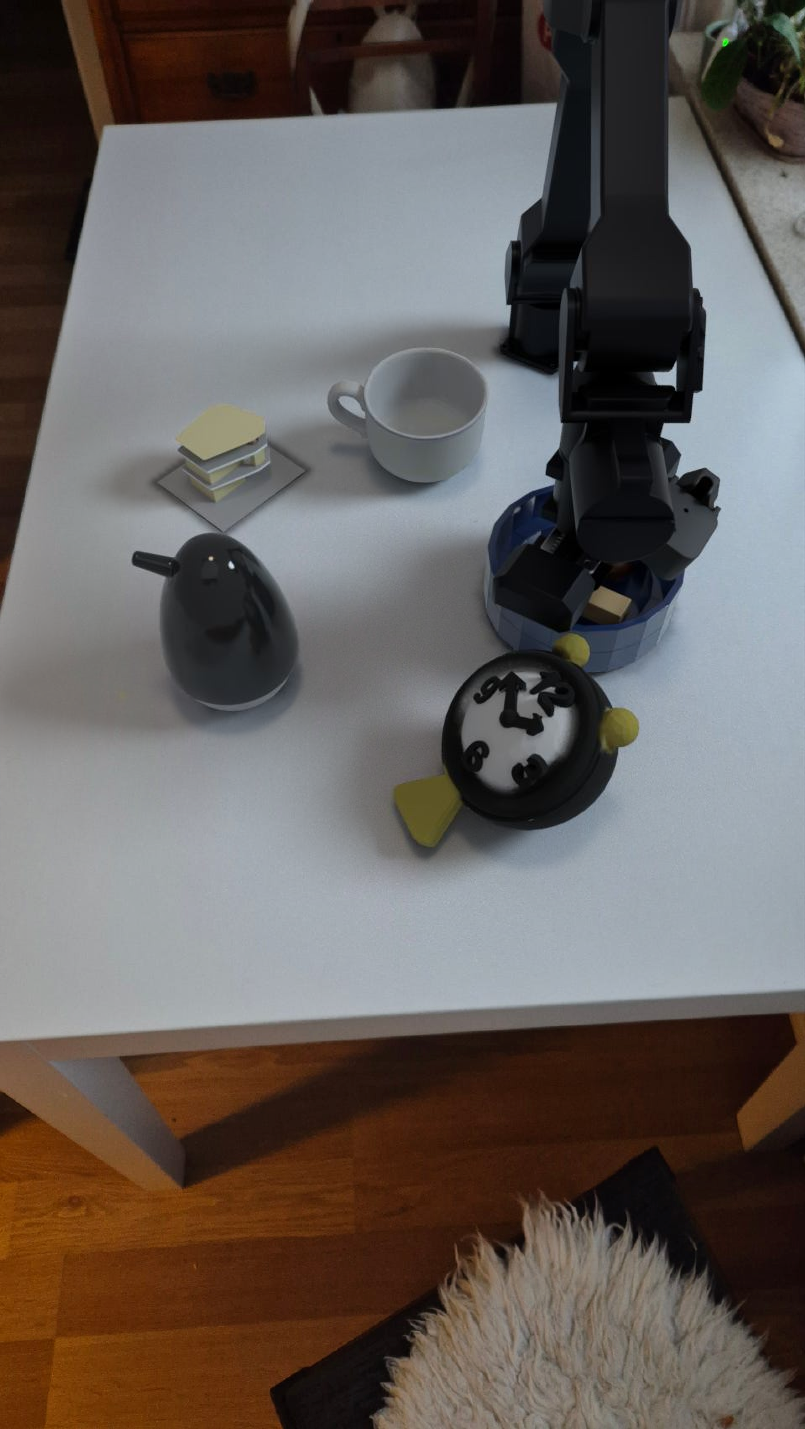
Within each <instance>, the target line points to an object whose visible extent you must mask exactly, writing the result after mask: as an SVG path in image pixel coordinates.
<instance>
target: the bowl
mask: <svg viewBox="0 0 805 1429" xmlns="http://www.w3.org/2000/svg"><path fill="white" fill-rule="evenodd" d="M553 491H554V484H551V485H548V486H545V487H541V488H538V489H535V490H531V491H529V492H528V493H526V494H524V495H523V496H521V497H519V498H518V499H517V500H515V501H513V502H512V503H510V504H509V505H508V506H507V507H506V508H505V509H504V511H503V512H502V513H501V515H499V517H498V518H497V519H496V521H495V522H494V524H493V525H492V530H491V533H490V536H489V540H488V543H487V547H486V560H485V570H484V582H483V596H484V604H485V605H484V606H485V612H486V614H487V616H488V618H489V620H490V622H491V623H492V625H493V627H494V629H495V631H496V633H497V635H498V636H499V637H500V638H501V639H502V640H504V641H505V642H506V643H507V644H508V645H509V646H510V647H511V648H512V649H513V650H514V651H518V650H526V649H538V650H547V651H550V652H551V650H552V646H553V644H554V643H555V641H556V640H557V639H559V638H560V637H561V636H563V635H565V634H572V633H573V634H577V635H579V636H581V637H582V638H584V639H585V640H586V642H587V644H588V645H589V651H590V655H589V658H588V661H587V663H586V664H585V665H584V666H583V667H582V668H583V669H584V671H586V672H587V673H605V672H611V671H613V670H616V669H618V668H622V667H624V666H628V665H631V664H634V663H635V662H636V661H638V660H639V659H641V658H642V657H643V656H645V655H646V654H648V653H649V652H650V651H652V650H653V649H654V648H655V647H656V646H657V645H658V643H659V641H660V640H661V638H662V637H663V635H664V633H665V632H666V630H667V628H668V627H669V625H670V622H671V619H672V616H673V613H674V611H675V607H676V605H677V603H678V599H679V596H680V593H681V590H682V588H683V585H684V579H685V573H686V569H684V570H683V571H682V572H681V573H680V574H679V575H678V576H677V577H676V578H675V579H673V580H664V579H662V578H660V577H659V576H657V575H656V574H655V572H654V570H653V569H651V568H650V567H649V566H647V565H646V564H644V563H643V562H642V561H640V560H635V561H633V567H632V571H631V573H630V574H629V576H628V577H627V578H626V579H624V580H623V581H620V582H616V583H611V582H607V581H605V580H604V582H603V583H602V585H601V586H602V587H604V588H606V589H609V590H611V591H613V592H616V593H618V594H620V595H622V596H625V597H627V598H629V599H631V604H630V608H629V612H628V615H627V617H626V619H625V620H624V622H621V623H618V624H613V625H600V624H598V623H596V622H594V621H592V620H589V619H587V618H585V617H583V616H580V617H579V618H578V620H577V621H576V623H575V624H574V626H573V627H572V629H571V630H570V631H568V632H563V633H557V632H555V631H553V630H551V629H549V628H546V627H544V626H542V625H540V624H538V623H536V622H534V621H531V620H529V619H527V618H525V617H523V616H521V615H518V614H516V613H514V612H512V611H510V610H508V609H505V608H503V607H501V606H499V605H497V604H495V603H494V600H493V597H492V584H493V577H494V576H495V575H496V573H497V572H498V571H499V569H500V568H501V567H502V565H503V564H504V563H505V561H506V560H507V559H508V557H509V556H510V555H511V553H512V552H513V551H514V549H515V548H516V547H517V546H521V545H524V544H527V543H529V544H532V545H533V543H534V542H535V541H536V539H537V538H538V537H539V535H542V536H545V537H548V536H549V535H550V533H551V532H552V530H553V529H554V528H555V526H556V525H557V524H555V523H553V522H550V521H548V520H546V519H543V518H541V517H540V514H541V507H542V506H543V504H544V503H545V502H546V500H547V499H548V498H549V496H550V495H551V494H552V492H553Z"/></svg>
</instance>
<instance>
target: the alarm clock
mask: <svg viewBox="0 0 805 1429" xmlns="http://www.w3.org/2000/svg"><path fill="white" fill-rule="evenodd" d="M589 655H590V651H589V645H588V644H587V642H586V640H585V639H584V638H582V637H581V636H579V635H577V634H573V633H572V634H565V635H563V636H561V637H560V638H559V639H557V640H556V641H555V643H554V644H553V646H552V650H551V652H550V651H547V650H538V649H526V650H518V651H515V650H514V651H511V652H506V653H504V654H502V655H499V656H497V657H495V658H493V659H491V660H489V661H487V662H486V663H484V664H482V665H481V666H479V667H477V669H476V670H475V671H474V672H472V673H471V674H470V675H469V676H468V677H467V678H466V679H465V681H464V682H462V684H461V686H460V687H459V688H458V690H456V693H455V694H454V696H453V697H452V700H451V702H450V703H449V706H448V708H447V711H446V714H445V717H444V721H443V726H442V730H441V731H442V732H441V734H442V735H441V743H440V755H441V764H442V767H443V771H444V774H440V775H435V776H430V777H426V778H421V779H417V780H413V781H409V782H404V783H401V784H397V785H396V786H394V788H393V790H392V796H393V800H394V803H395V805H396V806H397V809H398V811H399V813H400V815H401V817H402V819H403V821H404V823H405V825H406V827H407V829H408V830H409V832H410V834H411V836H412V838H413V839H414V840H415V841H416V842H417V843H418V844H419V845H420V846H423V847H424V846H425V847H428V848H434V847H436V845H437V844H438V843H439V841H440V840H441V839H442V837H443V836H444V833H445V832H446V831H447V829H448V827H449V826H450V825H451V823H452V821H454V818H455V817H456V815H457V814H458V812H459V811H460V809H461V807H462V806H463V805H464V807H466V808H467V809H469V810H470V811H471V812H472V813H474V814H475V815H476V816H478V817H480V818H481V819H482V820H485V821H486V822H488V823H491V824H494V825H495V826H499V827H502V828H505V829H510V830H517V831H518V830H519V831H538V830H546V829H549V828H553V827H556V826H559V825H563V824H565V823H567V822H570V821H571V820H573V819H574V818H576V817H578V816H579V815H581V814H582V813H584V812H585V811H587V810H588V809H589V808H590V807H591V806H592V805H593V804H595V803H596V801H597V800H598V799H599V798H600V797H601V795H602V794H603V792H604V791H605V790H606V788H607V786H608V784H609V782H610V780H611V778H612V777H613V774H614V771H615V769H616V765H617V762H618V756H619V748H625V747H628V746H630V745H631V744H633V743H634V742H635V740H636V739H638V735H639V732H640V723H639V720H638V718H637V716H636V715H635V714H634V712H633V711H631V710H629V709H628V708H624V707H620V706H619V707H613V706H612V703H611V701H610V699H609V697H608V695H607V694H606V692H605V690H603V688H602V686H601V685H600V684H599V682H597V681H596V680H595V679H594V678H593V677H592V676H591V675H590V674H589V672H586V671H584V669H583V668H582V667H583V666H584V665H585V664H586V663H587V661H588V658H589Z"/></svg>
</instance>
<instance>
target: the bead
mask: <svg viewBox="0 0 805 1429" xmlns="http://www.w3.org/2000/svg"><path fill="white" fill-rule="evenodd" d="M604 562H605V563H607V564H609V565H612V566H613V568H612V570H611V571H610V573H609V574H608V576H607V577H606V579H605V581H607V582H611V583H616V582H620V581H623V580H624V579H626V578H627V577H628V576H629V574H630V573H631V571H632V567H633V561H631V562H623V563H612V562H606V561H604Z"/></svg>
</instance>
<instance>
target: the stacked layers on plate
mask: <svg viewBox="0 0 805 1429" xmlns="http://www.w3.org/2000/svg"><path fill="white" fill-rule="evenodd" d="M174 440H175V441H176V442H177V443H179V444H180V445H181V446H180V447H178V449H177V453H178V454H179V455H180V456H182V457H183V458H184V461H185V462H184V463H183V464H182V465H180V466H178V467H177V468H176V469H174V470H173V471H171V472H170V473H168V474H167V475H166V476H164V477H163V478H162V479H159V481H157V484H158V485H160V486H161V487H162V488H164V490H167V491H168V492H169V493H171V494H172V495H173V496H174V497H176V498H177V499H178V500H180V501H181V502H183V503H184V504H185V505H186V506H188V507H189V508H191V509H192V510H193V511H194V512H196V513H197V514H199V515H200V516H201V517H202V518H204V519H205V520H207V521H208V522H209V523H211V524H212V525H213V526H215V527H216V528H217V529H219V530H220V531H221V532H222V533H225V532H226V531H228V530H229V529H230V528H231V527H233V526H234V525H235V524H237V523H238V522H239V521H241V520H242V519H243V518H245V517H246V516H248V514H250V513H251V512H253V511H254V510H256V509H257V508H258V507H259V506H261V505H263V503H265V502H266V501H268V500H269V499H270V498H271V497H273V496H274V495H275V494H277V493H278V492H279V491H281V490H282V489H283V488H285V487H286V486H288V485H289V484H290V483H292V482H293V481H294V480H296V479H297V478H298V477H300V476H301V475H302V474H304V473H305V472H306V470H305V469H303V468H302V467H301V466H299V465H297V464H296V463H294V462H293V461H291V460H290V459H289V458H287V457H286V456H285V455H283V454H281V453H280V452H278V451H277V450H276V449H274V448H273V447H271V446H270V445H269V444H268V435H267V429H266V425H265V418H264V417H263V416H261V415H259V414H256V413H253V412H251V411H248V410H245V409H243V408H240V407H237V406H234V405H231V404H227V403H219V404H215V405H212V406H209V407H208V408H207V409H205V410H204V412H202V413H201V414H200V415H199V416H198V417H196V418H195V419H194V420H193V421H192V422H191V423H190V424H189V425H188V426H187V427H185V428H184V429H183V430H182V431H181V432H180V433H179V434H178V435H176V436H175V437H174Z"/></svg>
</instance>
